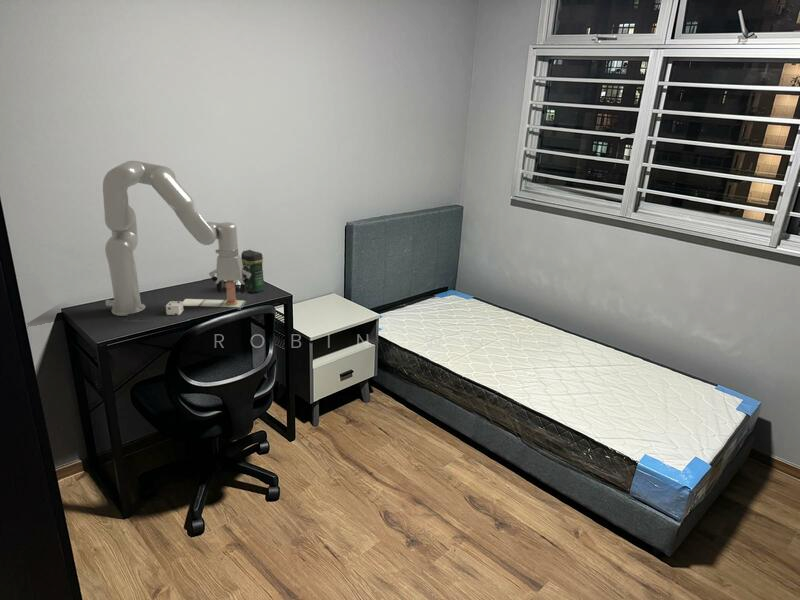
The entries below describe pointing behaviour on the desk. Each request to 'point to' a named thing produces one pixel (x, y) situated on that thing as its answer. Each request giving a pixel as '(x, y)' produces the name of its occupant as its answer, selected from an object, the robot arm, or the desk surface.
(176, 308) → the die
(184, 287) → the desk surface
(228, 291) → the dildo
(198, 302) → the board
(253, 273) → the coffee jar
